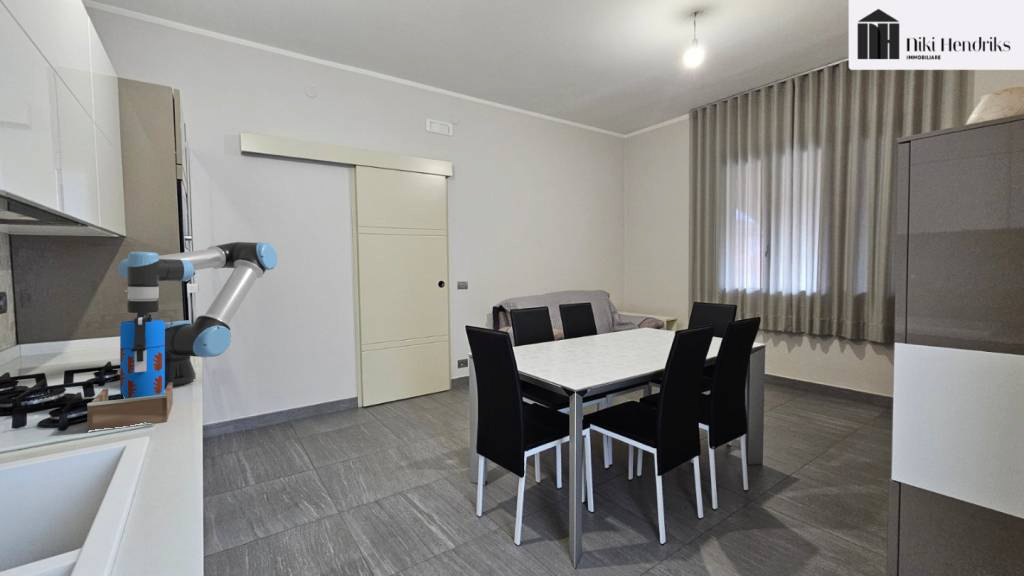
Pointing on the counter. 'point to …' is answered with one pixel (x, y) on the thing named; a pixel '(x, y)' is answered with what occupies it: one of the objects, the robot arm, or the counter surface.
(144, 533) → the counter surface
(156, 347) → the thermos
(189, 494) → the counter surface
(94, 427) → the wooden frame
